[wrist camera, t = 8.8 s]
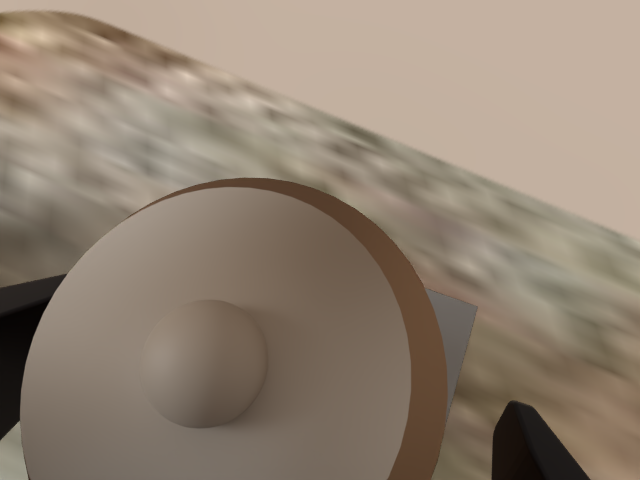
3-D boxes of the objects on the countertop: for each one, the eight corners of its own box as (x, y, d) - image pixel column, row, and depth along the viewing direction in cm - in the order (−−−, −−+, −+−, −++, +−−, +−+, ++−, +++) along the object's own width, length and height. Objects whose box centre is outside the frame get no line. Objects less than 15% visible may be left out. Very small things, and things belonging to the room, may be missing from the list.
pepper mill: (425, 385, 16) (714, 353, 3) (311, 515, 15) (90, 1231, 2) (313, 276, 17) (223, -13, 5) (202, 385, 16) (-275, 358, 4)
